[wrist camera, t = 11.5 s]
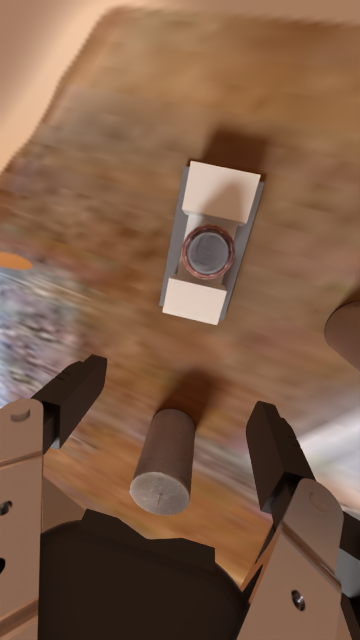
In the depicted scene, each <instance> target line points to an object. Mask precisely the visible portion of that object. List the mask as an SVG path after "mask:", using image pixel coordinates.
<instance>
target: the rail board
mask: <svg viewBox="0 0 360 640" xmlns="http://www.w3.org/2000/svg"><path fill="white" fill-rule="evenodd" d="M260 176H261V175H258V174H253V173H248V172H243V171H239V170H234V169H229V168H224V167H219V166H214V165H209V164H204V163H199V162H194V161H191V163H190V167H187V166H184V169H183V174H182V180H181V185H180V191H179V197H178V202H177V208H176V213H175V219H174V224H173V230H172V236H171V241H170V247H169V252H168V258H167V264H166V269H165V275H164V280H163V286H162V292H161V297H160V303H159V306H163V312H164V313H168V314H172V315H176V316H181V317H185V318H189V319H193V320H197V321H202V322H206V323H210V324H214V325H217V324H218V320H222V321H223V320H224V317H225V314H226V310H227V307H228V304H229V300H230V297H231V294H232V290H233V287H234V284H235V280H236V277H237V274H238V270H239V267H240V264H241V260H242V257H243V254H244V250H245V247H246V244H247V240H248V237H249V234H250V230H251V227H252V224H253V220H254V217H255V214H256V210H257V207H258V204H259V200H260V197H261V194H262V190H263V187H264V184H265V183H264V182H260V181H259V179H260ZM206 224H213V225H217V226H220V227H222V228H223V229H225V230H226V231H227V232H228V233H229V234H230V235H231V237H232V239H233V241H234V245H235V257H234V260H233V262H232V265H231V266H230V268H229V269H228V270H227V271H226V272H225V273H224V274H223V275H221V276H219V277H217V278H214V279H208V280H205V279H200V278H197V277H195V276H194V275H192V274H191V273H190V272H189V271H188V270H187V269H186V267H185V265H184V263H183V260H182V246H183V243H184V240H185V238H186V237H187V235H188V234H189V233H190V232H191V231H192V230H194V229H195V228H197V227H199V226H202V225H206Z"/></svg>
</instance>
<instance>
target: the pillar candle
mask: <svg viewBox="0 0 360 640" xmlns="http://www.w3.org/2000/svg"><path fill="white" fill-rule="evenodd" d="M194 439H195V425H194V422H193V420H192V419H191V417H190V416H189V415H187V414H186V413H184V412H182V411H180V410H176V409H165V410H161V411H159V412H158V413H157V414H156V415H155V416H154V417H153V419H152V421H151V424H150V427H149V430H148V433H147V436H146V439H145V442H144V446H143V449H142V452H141V455H140V458H139V461H138V464H137V467H136V471H135V473H134V476H133V480H132V482H131V485H130V490H129V492H130V495H132V498H133V499H134V500H135V502H136V503H137V504H138V505H139V506H140V507H142V508H143V509H144V510H146V511H148V512H151V513H153V514H158V515H167V516H169V515H174V514H178V513H180V512H182V511H183V510H185V509H186V508H187V506H188V504H189V502H190V492H191V478H192V464H193V453H194Z"/></svg>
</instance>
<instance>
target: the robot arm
mask: <svg viewBox="0 0 360 640" xmlns="http://www.w3.org/2000/svg"><path fill="white" fill-rule="evenodd" d="M325 338H326V341H327V343H328V344H329V346H330V347H331V348H333V349H334V350H335V351H336V352H337V353H339V354H340V355H341V356H342V357H343V358H344V359H345V360H347V361H348V362H349V363H350V364H351V365H353V366H354V367H355V368H356V369H358V370H359V371H360V301H356V302H352V303H349V304H346V305H344V306H342V307H341V308H339V309H338V310H337V311H335V312H334V313H333V315H332V316H331V317H330V318H329V320H328V322H327V324H326V327H325ZM106 368H107V358H104V357H101V356H97V355H93V354H92V355H91V356H90V357H88V358H87V359H86V360H85V361H84V362H81V361H78V362H75V363H73V364H71V365H69V366H68V367H66V368H65V369H64V370H63V371H62V372H61V373H59V374H58V375H57V376H56V377H55V378H53V379H52V380H51V381H50V382H49V383H48V384H46V385H45V386H44V387H43V388H42V389H40V390H39V391H38V392H37V393H36V394H35V395H33V396H32V397H31V398H30V399H20V400H16V401H13V402H11V403H9V404H7V405H5V406H4V407H3V408H1V409H0V640H335V639H336V632H337V624H338V617H339V608H340V605H341V608H342V611H343V613H344V617H345V619H346V623H347V626H348V629H349V631H350V635H351V637H352V640H360V521H359V520H358V519H356V518H354V517H352V516H350V515H349V514H347V513H346V512H344V511H343V510H342V508H341V506H340V504H339V503H338V501H337V500H336V498H335V497H334V496H333V495H332V493H331V492H330V491H329V490H328V489H327V488H325V487H324V486H323V485H321V484H320V483H318V482H317V481H316V479H315V477H314V475H313V473H312V471H311V468H310V466H309V464H308V462H307V460H306V457H305V455H304V453H303V451H302V449H301V448H300V444H299V442H298V440H296V436H295V433H294V431H293V429H292V427H291V426H290V425H289V424H288V423H287V421H286V420H285V419H284V418H281V417H280V416H279V413H278V411H277V408H276V406H275V405H273V404H270V403H266V402H262V401H258V402H257V403H256V405H255V407H254V409H253V412H252V414H251V416H250V418H249V420H248V423H247V426H246V438H247V443H248V449H249V454H250V459H251V464H252V469H253V474H254V479H255V484H256V489H257V494H258V500H259V505H260V510H261V511H263V512H266V513H269V514H272V518H273V523H272V525H271V526H270V528H269V530H268V533H267V535H266V537H265V539H264V541H263V543H262V545H261V547H260V550H259V552H258V554H257V556H256V558H255V560H254V562H253V565H252V567H251V569H250V571H249V573H248V575H247V576H246V578H245V580H244V582H243V583H242V585H241V587H240V588H239V587H238V585H237V584H236V583H235V581H234V580H233V579H232V578H231V577H230V575H229V574H228V573H227V572H226V571H225V570H224V569H223V568H222V567H221V566H219V565H218V564H217V563H215V548H213V547H210V546H207V545H203V544H200V543H197V542H194V541H191V540H187V539H184V538H173V539H153V540H150V539H146V538H144V537H143V536H142V535H140V534H139V533H137V532H136V531H135V530H133V529H132V528H131V527H129V526H128V525H127V524H125V523H124V522H122V521H121V520H120V519H118V518H116V517H113V516H110V515H106V514H103V513H100V512H97V511H93V510H90V509H86V511H85V514H84V516H83V518H82V520H75V521H70V522H66V523H63V524H59V525H57V526H55V527H53V528H50V529H48V530H46V531H45V532H43V533H42V510H43V509H42V508H43V507H42V506H43V502H42V501H43V455H44V454H45V453H46V452H47V450H48V449H49V448H50V447H51V448H55V449H58V450H59V449H60V448H61V446H62V445H63V444H64V442H65V441H66V440H67V438H68V437H69V436H70V434H71V433H72V432H73V430H74V429H75V427H76V426H77V425H78V423H79V422H80V421H81V419H82V418H83V417H84V415H85V414H86V412H87V411H88V410H89V408H90V407H91V406H92V404H93V403H94V402H95V400H96V399H97V398H98V396H99V395H100V393H101V391H102V389H103V387H104V383H105V376H106Z"/></svg>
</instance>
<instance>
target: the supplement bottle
mask: <svg viewBox="0 0 360 640" xmlns="http://www.w3.org/2000/svg"><path fill="white" fill-rule="evenodd" d="M234 257H235V245H234V241H233V239H232V237H231V235H230V234H229V233H228V232H227V231H226V230H225V229H223V228H222V227H220V226H217V225H213V224H206V225H202V226H199V227H197V228H195V229H194V230H192V231H191V232H190V233H189V234H188V235H187V237H186V238H185V240H184V243H183V246H182V260H183V263H184V265H185V267H186V269H187V270H188V271H189V272H190V273H191V274H192V275H194V276H195V277H197V278H200V279H205V280H208V279H214V278H217V277H219V276H221V275H223V274H224V273H225V272H226V271H227V270H228V269H229V268H230V266H231V265H232V262H233V260H234Z"/></svg>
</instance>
